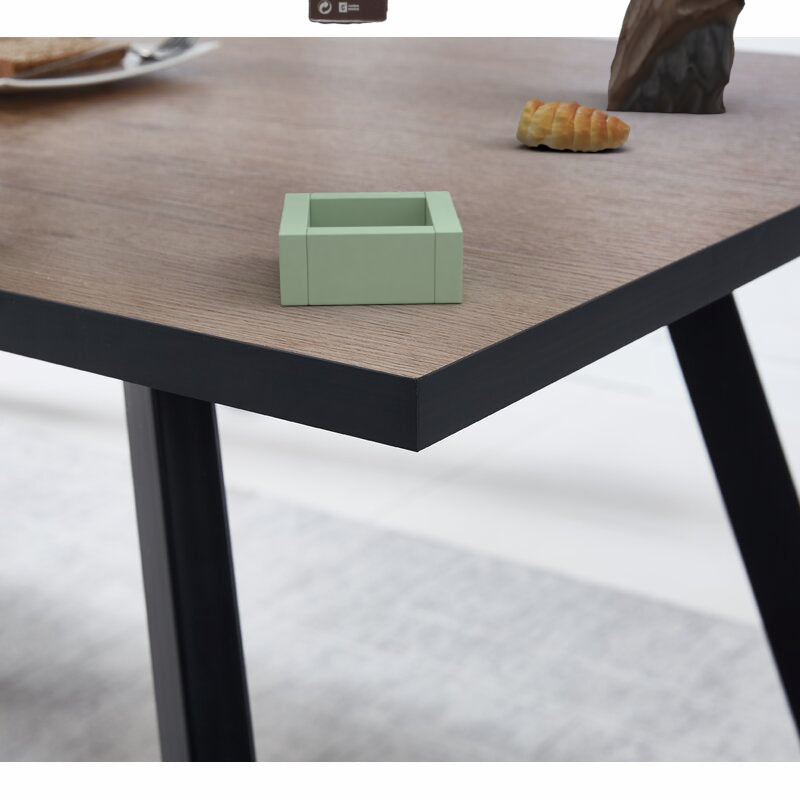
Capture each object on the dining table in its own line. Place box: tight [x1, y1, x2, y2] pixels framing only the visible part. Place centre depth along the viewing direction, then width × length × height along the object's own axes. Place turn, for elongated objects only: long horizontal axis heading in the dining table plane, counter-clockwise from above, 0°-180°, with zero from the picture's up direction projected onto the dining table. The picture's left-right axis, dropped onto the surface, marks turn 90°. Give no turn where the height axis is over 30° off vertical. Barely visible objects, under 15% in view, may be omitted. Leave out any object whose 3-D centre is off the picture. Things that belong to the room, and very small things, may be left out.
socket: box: [277, 190, 464, 307], centre depth 75 cm, size 10×10×4 cm
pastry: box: [515, 98, 631, 153], centre depth 112 cm, size 9×7×4 cm
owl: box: [606, 0, 746, 115], centre depth 130 cm, size 13×13×20 cm
